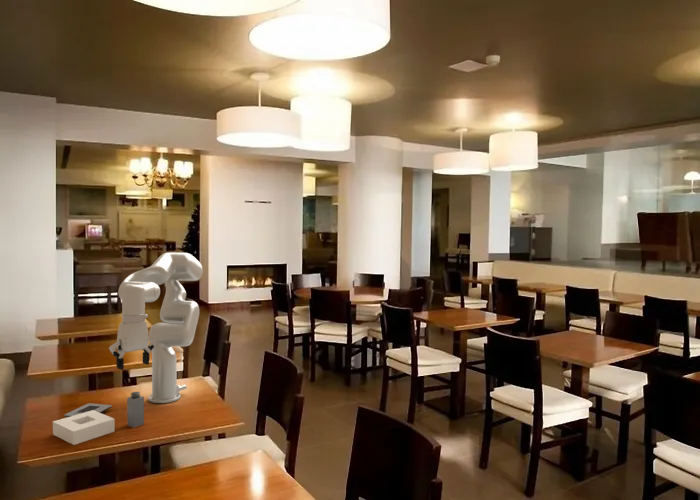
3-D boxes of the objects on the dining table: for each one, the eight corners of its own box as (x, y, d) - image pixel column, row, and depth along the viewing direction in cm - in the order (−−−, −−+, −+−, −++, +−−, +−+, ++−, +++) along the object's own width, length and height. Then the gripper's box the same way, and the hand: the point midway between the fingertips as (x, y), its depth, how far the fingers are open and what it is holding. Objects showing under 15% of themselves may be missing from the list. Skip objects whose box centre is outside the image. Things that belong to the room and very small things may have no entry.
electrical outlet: (88, 423, 189) (88, 416, 189) (63, 420, 191) (63, 414, 191) (112, 410, 202) (112, 404, 201) (88, 408, 204) (88, 402, 204)
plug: (137, 421, 190) (137, 390, 189) (143, 424, 187) (143, 392, 187) (127, 425, 186) (127, 393, 186) (133, 427, 184) (133, 395, 184)
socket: (93, 422, 189) (93, 410, 188) (114, 431, 180) (114, 418, 180) (53, 434, 177) (52, 421, 177) (73, 445, 169) (73, 431, 169)
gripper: (149, 315, 194) (149, 360, 195) (104, 320, 181) (104, 369, 181) (161, 317, 190) (161, 363, 190) (115, 323, 176) (115, 373, 177)
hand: (133, 366), depth 186 cm, fingers open, 9 cm apart
